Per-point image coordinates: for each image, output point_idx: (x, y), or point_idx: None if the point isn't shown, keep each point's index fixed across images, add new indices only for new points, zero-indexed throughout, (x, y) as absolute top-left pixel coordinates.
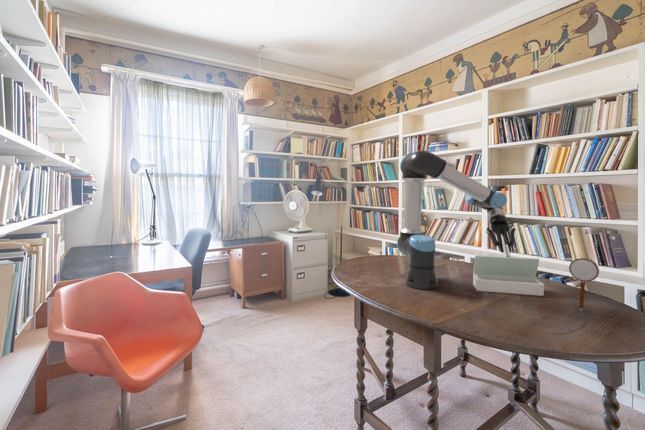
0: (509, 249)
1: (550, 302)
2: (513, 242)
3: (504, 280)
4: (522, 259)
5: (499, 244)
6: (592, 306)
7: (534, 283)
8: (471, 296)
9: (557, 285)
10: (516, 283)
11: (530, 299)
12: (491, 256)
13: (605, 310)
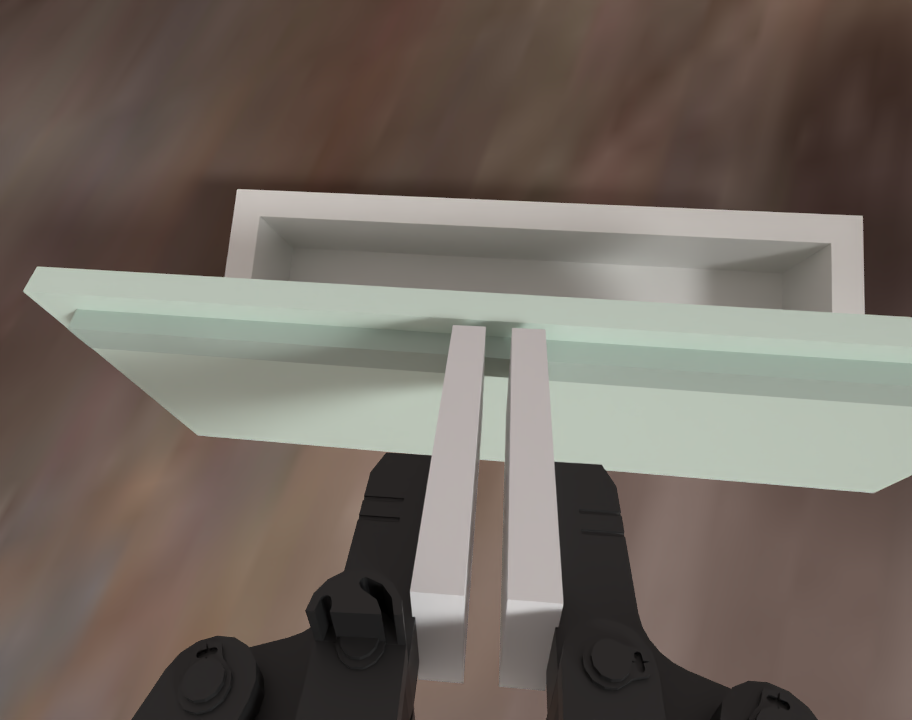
0: (405, 489)
1: (307, 89)
2: (169, 688)
3: None
4: (284, 289)
5: (648, 668)
6: (74, 72)
7: (312, 201)
8: (876, 92)
9: (4, 567)
10: (473, 204)
11: (421, 123)
12: (810, 333)
13: (45, 16)
